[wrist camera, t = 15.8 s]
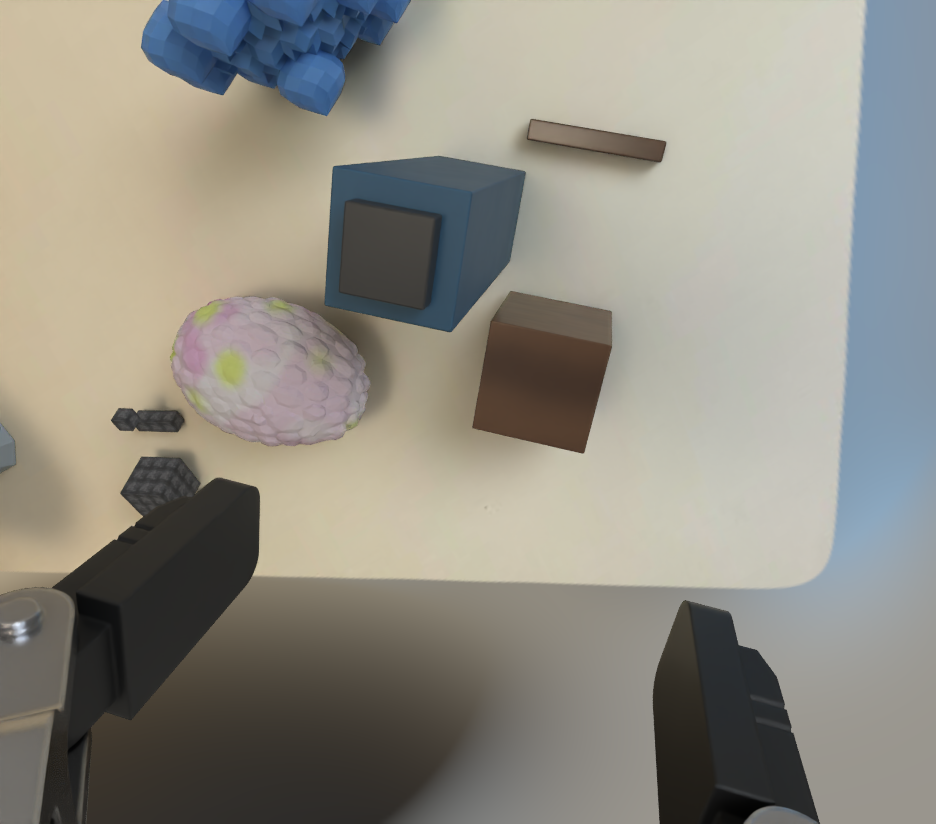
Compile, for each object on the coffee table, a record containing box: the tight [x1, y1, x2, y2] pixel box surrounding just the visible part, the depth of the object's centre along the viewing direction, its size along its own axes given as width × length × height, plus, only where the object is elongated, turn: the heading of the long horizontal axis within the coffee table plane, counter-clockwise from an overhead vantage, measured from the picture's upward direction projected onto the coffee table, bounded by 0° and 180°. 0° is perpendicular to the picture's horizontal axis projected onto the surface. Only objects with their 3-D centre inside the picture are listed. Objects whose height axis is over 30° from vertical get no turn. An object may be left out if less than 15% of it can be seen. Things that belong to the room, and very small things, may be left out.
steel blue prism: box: [325, 156, 526, 332], centre depth 29 cm, size 14×5×14 cm
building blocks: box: [111, 408, 200, 517], centre depth 45 cm, size 3×6×8 cm
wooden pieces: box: [472, 119, 666, 453], centre depth 33 cm, size 15×7×7 cm, turn 171°
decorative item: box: [170, 296, 371, 446], centre depth 39 cm, size 9×11×10 cm
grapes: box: [141, 0, 411, 116], centre depth 29 cm, size 12×7×12 cm, turn 111°
